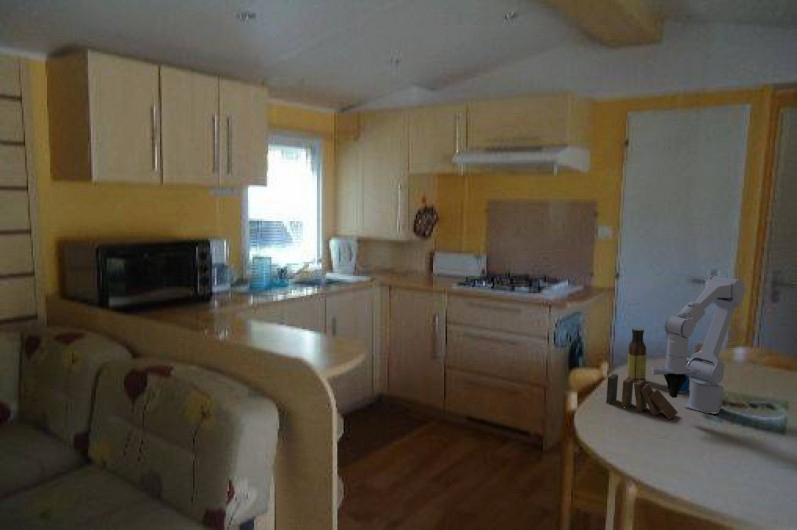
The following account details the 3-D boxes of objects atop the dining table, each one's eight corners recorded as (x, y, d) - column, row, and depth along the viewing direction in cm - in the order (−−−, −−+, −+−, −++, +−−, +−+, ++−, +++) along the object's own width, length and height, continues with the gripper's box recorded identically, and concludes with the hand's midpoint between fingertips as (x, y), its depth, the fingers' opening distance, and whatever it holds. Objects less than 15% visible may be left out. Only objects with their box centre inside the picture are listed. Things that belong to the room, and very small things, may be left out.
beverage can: (691, 394, 198) (694, 361, 196) (671, 392, 199) (674, 360, 197) (685, 387, 204) (688, 356, 202) (666, 386, 205) (669, 354, 203)
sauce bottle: (646, 379, 212) (650, 328, 209) (643, 384, 207) (647, 332, 204) (627, 376, 215) (631, 325, 212) (624, 381, 210) (628, 329, 207)
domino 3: (647, 407, 185) (644, 380, 185) (641, 411, 181) (639, 384, 181) (642, 406, 186) (639, 380, 186) (636, 411, 182) (633, 384, 182)
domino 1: (616, 400, 192) (618, 374, 190) (610, 404, 188) (612, 378, 187) (611, 398, 193) (613, 373, 191) (606, 403, 189) (607, 377, 188)
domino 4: (662, 409, 182) (649, 383, 184) (657, 414, 178) (644, 387, 180) (657, 410, 183) (644, 384, 185) (652, 415, 179) (639, 388, 181)
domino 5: (678, 412, 179) (657, 389, 182) (673, 417, 175) (652, 393, 179) (674, 415, 180) (653, 391, 183) (669, 419, 176) (648, 396, 179)
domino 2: (631, 404, 188) (633, 378, 187) (626, 408, 185) (628, 382, 183) (626, 402, 189) (628, 377, 188) (621, 407, 186) (623, 381, 184)
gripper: (693, 351, 179) (689, 391, 181) (647, 350, 179) (644, 391, 181) (705, 358, 172) (701, 400, 174) (658, 357, 172) (654, 400, 174)
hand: (673, 396), depth 177 cm, fingers closed
